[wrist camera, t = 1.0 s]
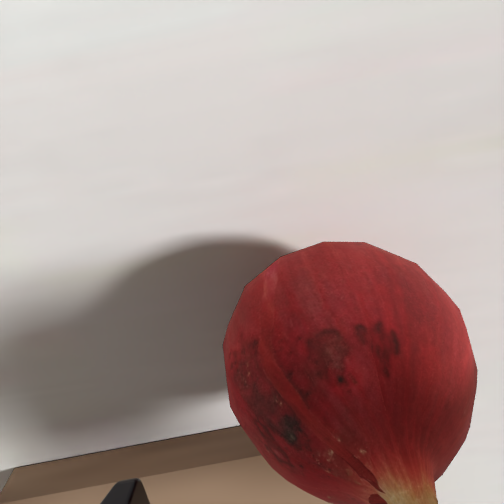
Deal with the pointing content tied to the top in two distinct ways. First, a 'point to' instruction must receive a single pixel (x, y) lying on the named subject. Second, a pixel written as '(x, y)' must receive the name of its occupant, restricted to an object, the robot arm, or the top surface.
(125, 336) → the top surface
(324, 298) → the onion
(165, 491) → the walnut board
